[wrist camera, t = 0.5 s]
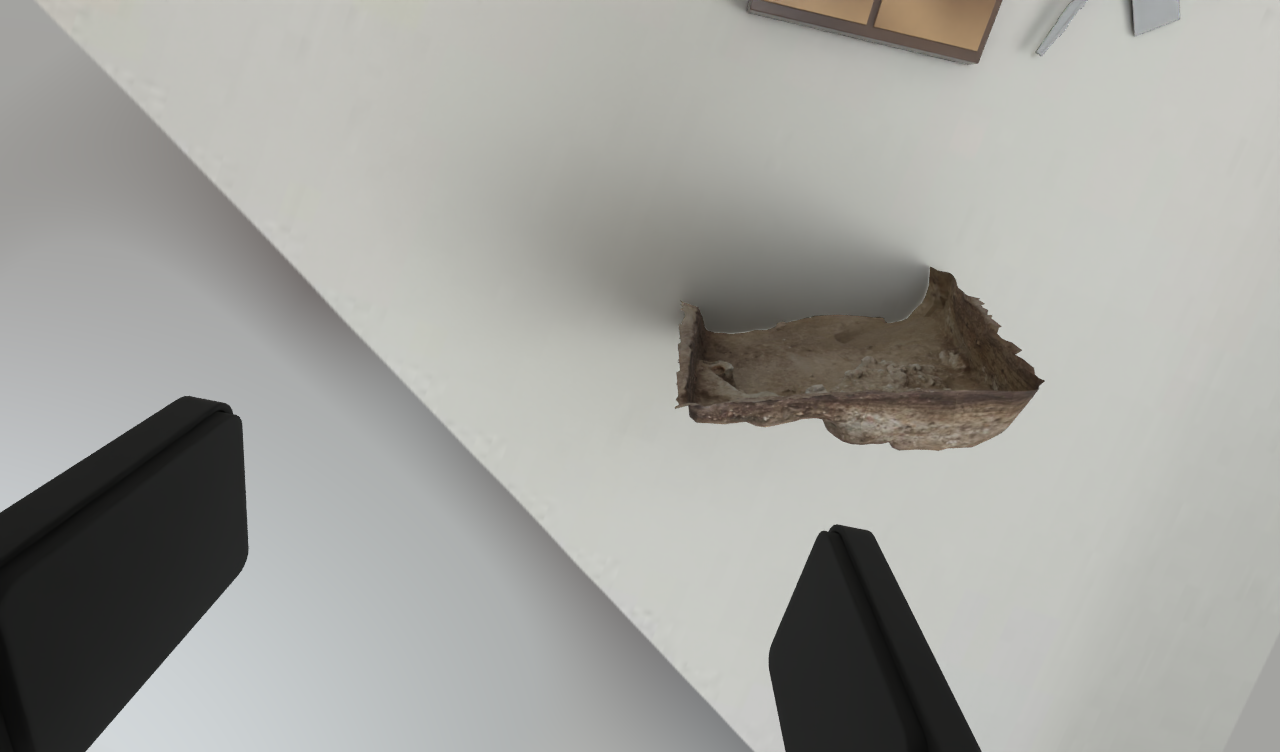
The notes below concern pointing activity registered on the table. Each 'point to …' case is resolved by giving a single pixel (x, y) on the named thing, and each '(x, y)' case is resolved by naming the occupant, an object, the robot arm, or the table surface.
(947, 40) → the game board
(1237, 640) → the table surface
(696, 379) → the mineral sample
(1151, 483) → the table surface
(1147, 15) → the key chain
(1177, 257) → the table surface
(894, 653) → the robot arm
